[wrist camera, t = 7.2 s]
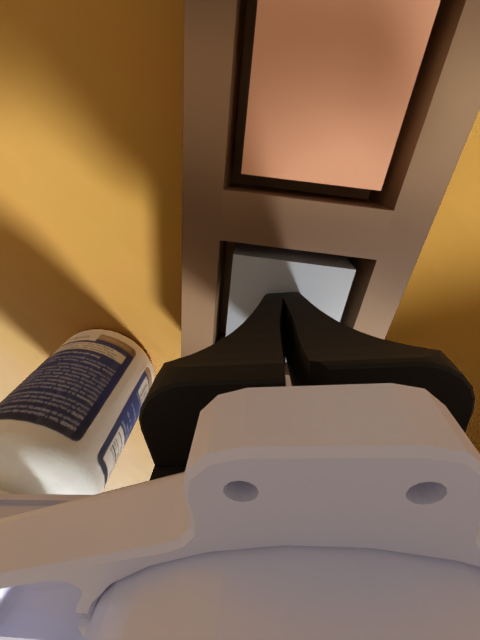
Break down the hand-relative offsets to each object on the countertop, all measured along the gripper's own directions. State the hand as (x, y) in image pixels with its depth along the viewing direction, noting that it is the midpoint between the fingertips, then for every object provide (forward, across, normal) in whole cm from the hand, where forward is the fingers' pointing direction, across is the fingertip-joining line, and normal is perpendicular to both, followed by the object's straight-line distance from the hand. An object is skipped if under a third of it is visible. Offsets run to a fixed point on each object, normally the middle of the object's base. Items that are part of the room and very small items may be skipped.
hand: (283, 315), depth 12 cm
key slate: (+2, 0, 0) cm, 2 cm away
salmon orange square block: (+2, -1, -7) cm, 7 cm away
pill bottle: (+3, +10, +4) cm, 11 cm away
